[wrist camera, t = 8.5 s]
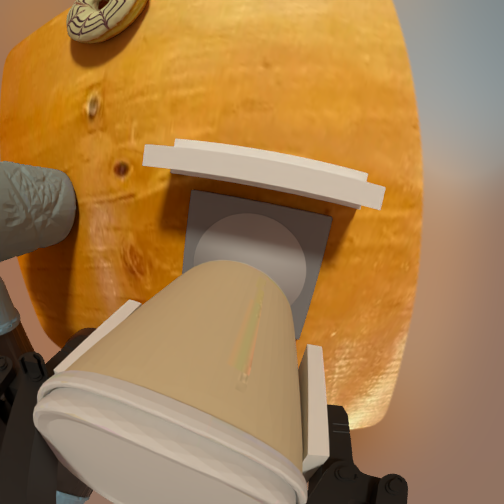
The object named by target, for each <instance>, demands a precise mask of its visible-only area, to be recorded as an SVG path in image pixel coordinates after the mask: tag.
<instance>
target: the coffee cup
mask: <svg viewBox="0 0 504 504" xmlns="http://www.w3.org/2000/svg"><path fill="white" fill-rule="evenodd" d="M33 421H34V424H35V427H36V428H37V429H38V431H39V432H40V434H41V435H42V437H43V438H44V439H45V441H46V442H47V444H48V445H49V447H50V448H51V450H52V451H53V453H54V454H55V456H56V457H57V459H58V460H59V461H60V462H61V463H62V464H63V465H64V466H65V467H66V468H67V469H68V470H69V471H70V472H71V473H72V474H73V475H75V476H76V477H77V478H78V479H79V480H81V481H82V482H83V483H84V484H86V485H87V486H88V487H90V488H91V489H93V490H94V491H96V492H97V493H99V494H100V495H102V496H103V497H105V498H106V499H108V500H109V501H111V502H113V503H114V504H305V503H306V502H307V498H308V496H307V483H306V481H305V478H304V476H303V475H302V469H303V446H302V425H301V406H300V390H299V376H298V364H297V352H296V341H295V331H294V324H293V317H292V311H291V307H290V304H289V302H288V300H287V298H286V296H285V294H284V292H283V291H282V289H281V288H280V287H279V286H278V284H277V283H276V282H275V281H274V280H273V279H272V278H270V277H269V276H268V275H267V274H265V273H264V272H262V271H261V270H259V269H257V268H255V267H253V266H251V265H248V264H246V263H243V262H238V261H232V260H215V261H209V262H205V263H202V264H200V265H197V266H195V267H193V268H191V269H190V270H188V271H187V272H185V273H184V274H182V275H181V276H179V277H178V278H177V279H176V280H174V281H173V282H172V283H170V284H169V285H168V286H166V287H165V288H164V289H163V290H161V291H160V292H159V293H157V294H156V295H155V296H154V297H152V298H151V299H150V300H149V301H147V302H146V303H145V304H143V305H142V306H141V307H140V308H138V309H137V310H136V311H135V312H133V313H132V314H131V315H130V316H128V317H127V318H126V319H125V320H124V321H122V322H121V323H120V324H119V325H117V326H116V327H115V328H114V329H113V330H111V331H110V332H109V333H108V334H106V335H105V336H104V337H103V338H102V339H100V340H99V341H98V342H97V343H96V344H94V345H93V346H92V347H91V348H90V349H89V350H87V351H86V352H85V353H84V354H83V355H81V356H80V357H79V358H78V359H77V360H76V361H75V362H74V363H73V364H72V365H71V366H69V367H68V368H67V369H66V370H65V371H62V372H59V373H57V374H54V375H53V376H52V377H50V378H49V379H48V380H47V381H45V382H44V383H43V384H42V386H41V387H40V389H39V391H38V395H37V405H36V406H35V408H34V412H33Z"/></svg>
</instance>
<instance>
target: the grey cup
mask: <svg viewBox="0 0 504 504" xmlns="http://www.w3.org/2000/svg"><path fill="white" fill-rule="evenodd" d="M75 203H76V200H75V192H74V188H73V186H72V183H71V181H70V179H69V177H68V176H67V175H66V174H65V173H63V172H62V171H59V170H55V169H49V168H41V167H34V166H31V165H24V164H21V165H20V164H19V163H13V162H8V161H3V162H0V262H1V261H4V260H7V259H10V258H13V257H15V256H21V255H23V254H26V253H30V252H33V251H34V250H37V248H45V247H48V246H51V245H54V244H57V243H59V242H61V241H62V240H63V239H65V238H66V236H67V235H68V234H69V232H70V230H71V228H72V226H73V222H74V218H75V211H76V204H75Z"/></svg>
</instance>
